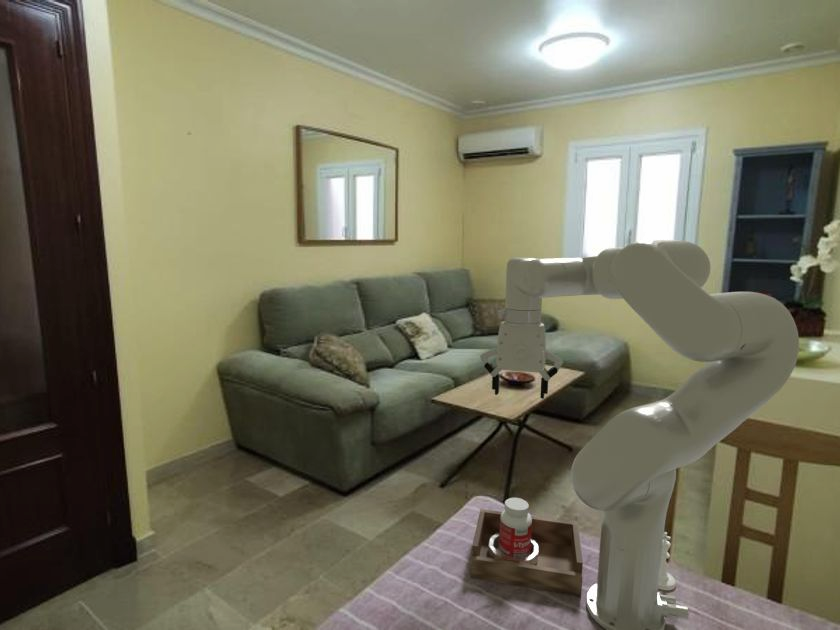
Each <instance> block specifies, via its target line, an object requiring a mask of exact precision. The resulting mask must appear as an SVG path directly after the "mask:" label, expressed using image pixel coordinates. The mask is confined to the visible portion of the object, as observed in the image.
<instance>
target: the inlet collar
mask: <svg viewBox="0 0 840 630" xmlns="http://www.w3.org/2000/svg"><path fill="white" fill-rule="evenodd" d="M499 537H500V532H498V533H496V534H495V535H493V536H492V537H491V538H490V542H489V556H490V558H493V559H499V560H505V561H511V562H517V563H523V564H530V565H536V564H537V563H538V544H537V543H536V542H535V541H534V540H533V538H531V546H530V550H531V552H532V554H531V555H530V556H529V557H526V558H520V559H515V558H509V557H506V556H504V555H502V554H500V553H498V552H497V550H496V549H495V548H494V547H496V546H497V545H498V544H499Z"/></svg>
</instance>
